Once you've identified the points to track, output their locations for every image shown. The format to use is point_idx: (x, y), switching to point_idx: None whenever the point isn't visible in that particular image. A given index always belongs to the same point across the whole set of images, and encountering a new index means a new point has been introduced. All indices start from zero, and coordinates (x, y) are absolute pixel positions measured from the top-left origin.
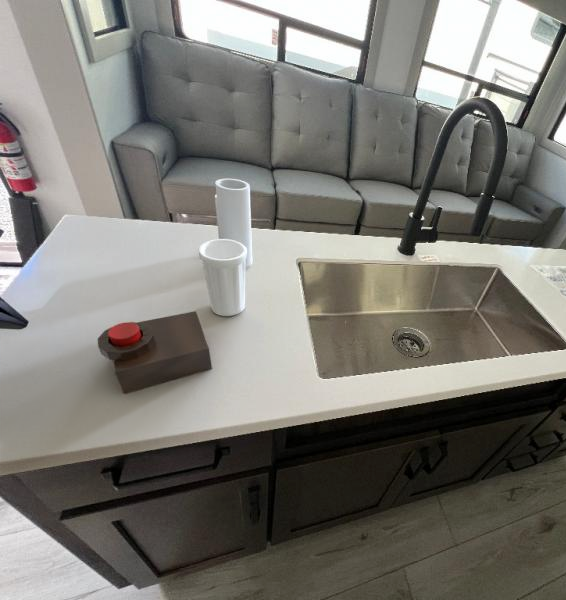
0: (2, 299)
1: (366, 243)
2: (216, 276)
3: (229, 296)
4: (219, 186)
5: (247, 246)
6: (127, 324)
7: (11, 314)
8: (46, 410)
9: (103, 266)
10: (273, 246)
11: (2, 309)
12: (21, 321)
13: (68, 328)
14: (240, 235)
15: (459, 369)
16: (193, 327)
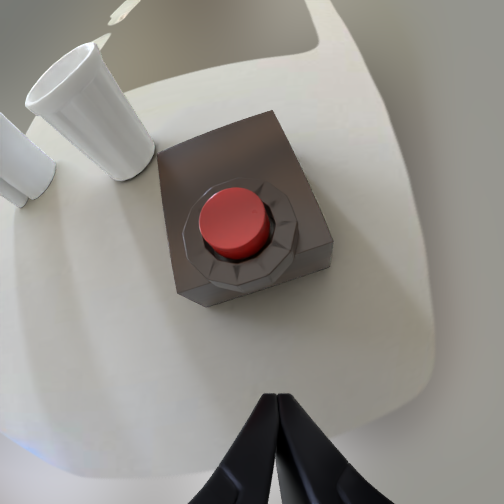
0: (215, 475)
1: None
2: (101, 98)
3: (132, 117)
4: None
5: (30, 140)
6: (208, 214)
7: (276, 433)
8: (351, 378)
9: (16, 364)
10: None
11: (271, 462)
12: (281, 405)
13: (137, 400)
14: (14, 132)
15: None
16: (206, 143)
